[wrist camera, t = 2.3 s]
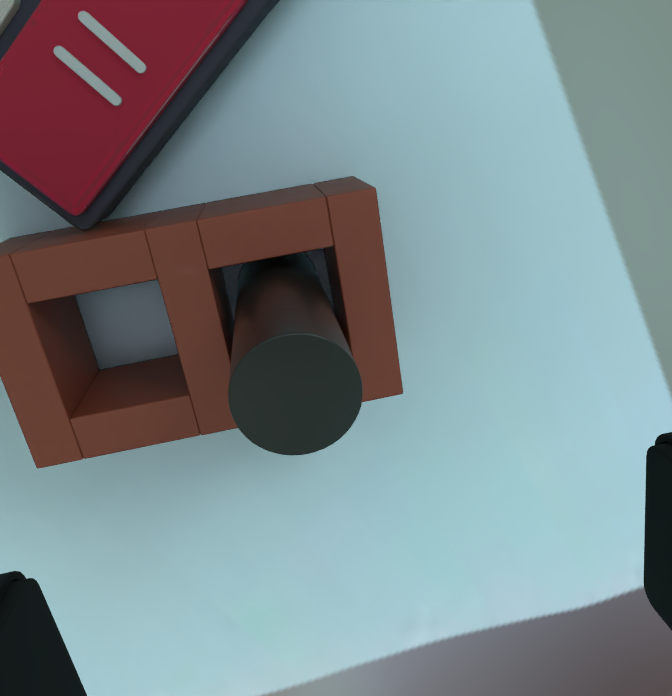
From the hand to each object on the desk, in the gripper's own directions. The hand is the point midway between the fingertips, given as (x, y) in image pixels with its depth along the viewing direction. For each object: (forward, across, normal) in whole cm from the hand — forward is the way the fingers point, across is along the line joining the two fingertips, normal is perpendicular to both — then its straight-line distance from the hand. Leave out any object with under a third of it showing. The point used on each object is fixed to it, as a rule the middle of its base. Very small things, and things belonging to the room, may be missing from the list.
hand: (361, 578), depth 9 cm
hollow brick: (+19, +4, 0) cm, 20 cm away
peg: (+19, +1, 0) cm, 19 cm away
